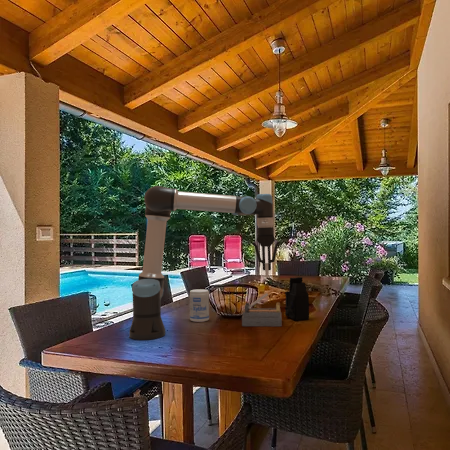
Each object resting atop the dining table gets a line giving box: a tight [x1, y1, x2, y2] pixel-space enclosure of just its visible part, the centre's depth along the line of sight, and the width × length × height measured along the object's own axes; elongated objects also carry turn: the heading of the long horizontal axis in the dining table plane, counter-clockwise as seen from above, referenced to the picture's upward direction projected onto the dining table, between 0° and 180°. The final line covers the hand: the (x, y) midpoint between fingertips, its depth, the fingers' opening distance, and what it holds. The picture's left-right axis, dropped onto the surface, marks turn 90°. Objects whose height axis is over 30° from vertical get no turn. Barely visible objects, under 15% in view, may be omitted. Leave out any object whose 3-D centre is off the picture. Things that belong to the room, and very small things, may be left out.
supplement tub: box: [189, 288, 210, 323], centre depth 208 cm, size 10×10×15 cm
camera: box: [284, 277, 310, 322], centre depth 208 cm, size 10×14×20 cm
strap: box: [248, 288, 274, 309], centre depth 199 cm, size 16×4×1 cm
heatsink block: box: [241, 302, 283, 327], centre depth 199 cm, size 18×12×9 cm, turn 83°
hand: (267, 277), depth 198 cm, fingers closed
